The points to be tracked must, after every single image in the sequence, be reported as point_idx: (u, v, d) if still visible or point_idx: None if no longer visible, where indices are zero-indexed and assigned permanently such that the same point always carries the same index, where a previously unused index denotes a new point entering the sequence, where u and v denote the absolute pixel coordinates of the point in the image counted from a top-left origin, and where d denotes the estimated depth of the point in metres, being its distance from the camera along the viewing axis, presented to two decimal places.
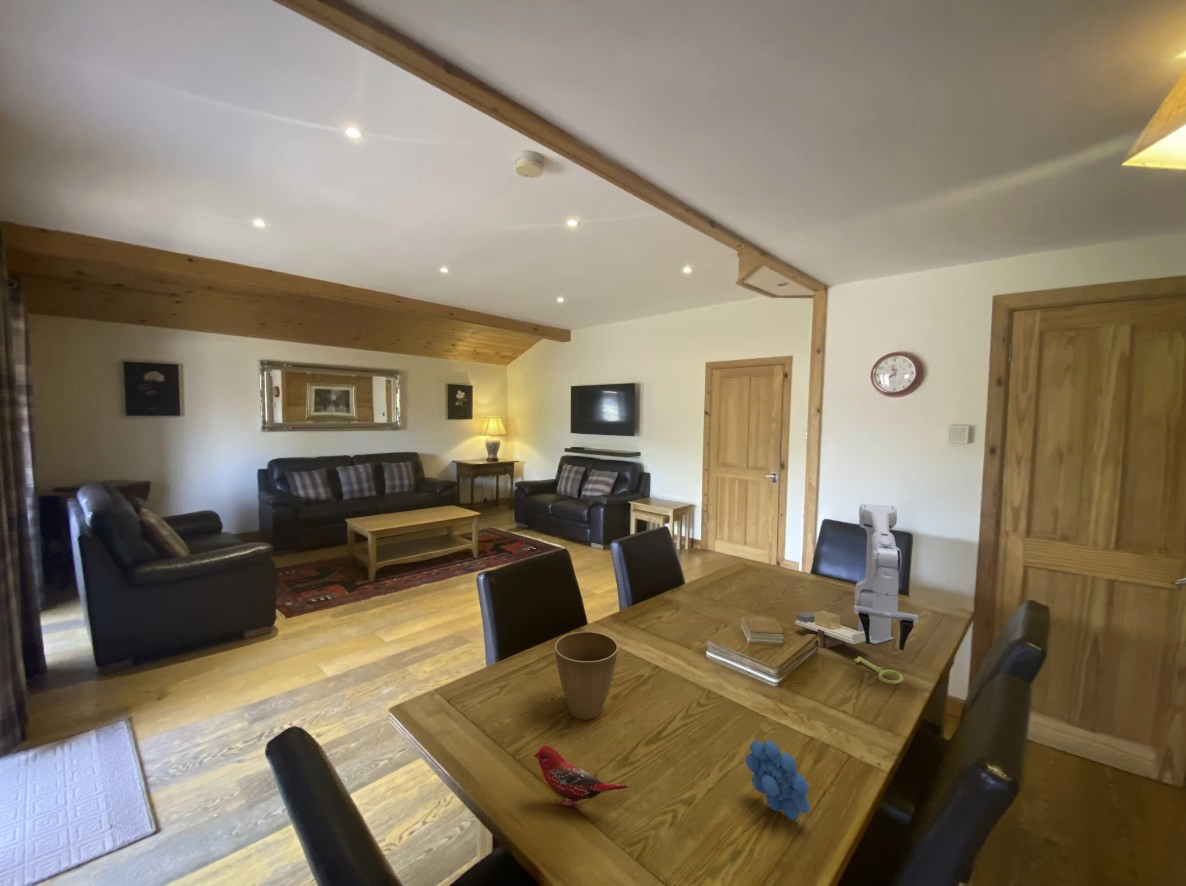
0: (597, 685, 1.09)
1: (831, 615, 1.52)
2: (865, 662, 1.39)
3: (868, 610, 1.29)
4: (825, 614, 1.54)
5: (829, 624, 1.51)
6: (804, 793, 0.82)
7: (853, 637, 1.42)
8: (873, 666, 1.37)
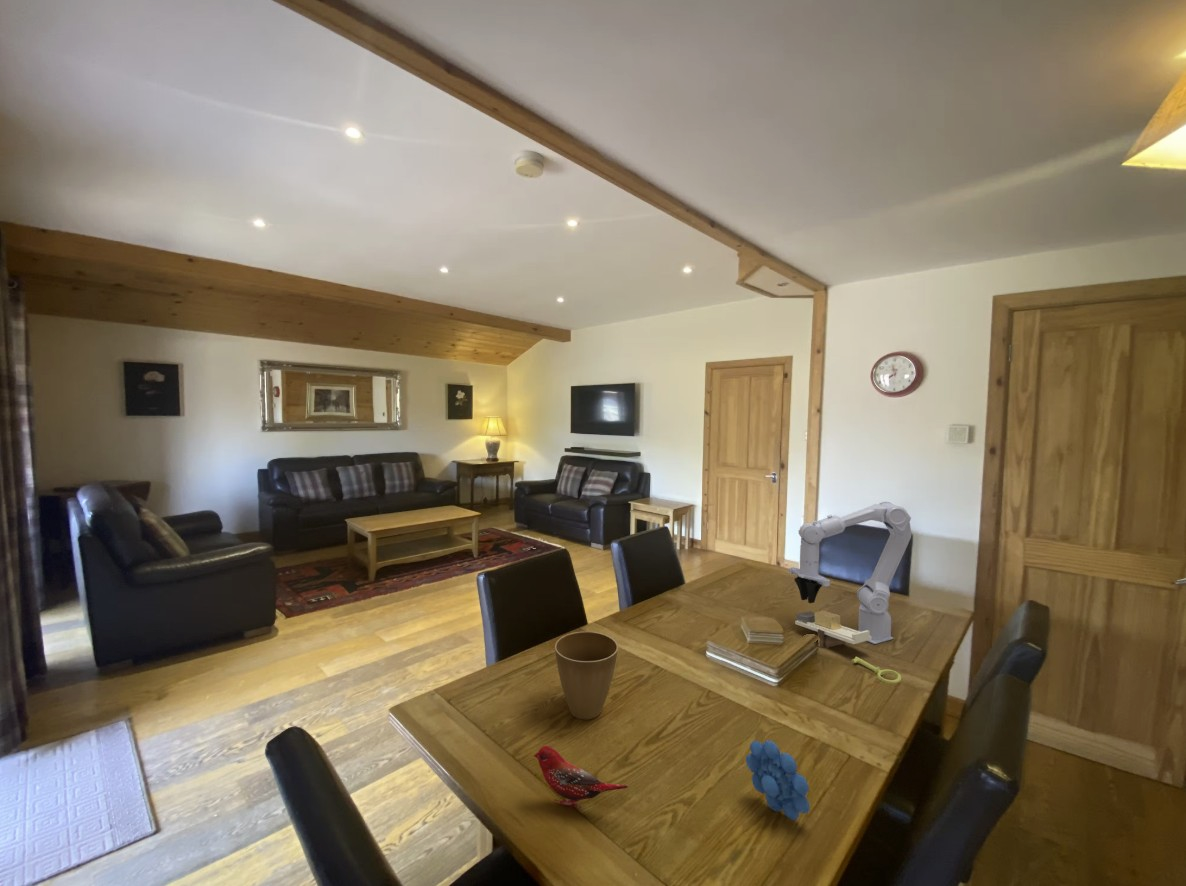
0: (597, 685, 1.09)
1: (831, 615, 1.52)
2: (863, 662, 1.39)
3: (795, 571, 1.63)
4: (825, 614, 1.54)
5: (829, 624, 1.51)
6: (804, 793, 0.82)
7: (853, 637, 1.42)
8: (871, 666, 1.37)
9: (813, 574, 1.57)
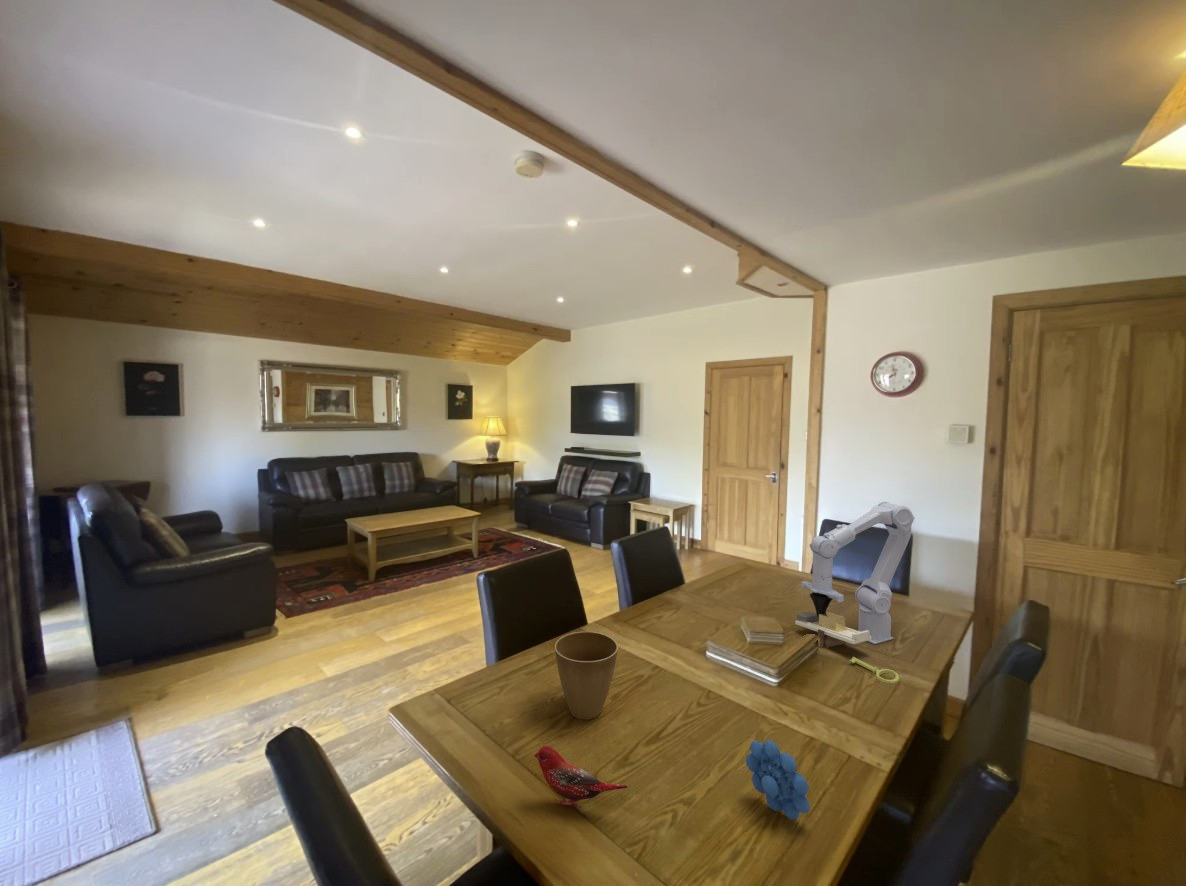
0: (597, 685, 1.09)
1: (836, 617, 1.51)
2: (860, 662, 1.39)
3: (807, 586, 1.59)
4: (830, 615, 1.52)
5: (834, 626, 1.49)
6: (804, 793, 0.82)
7: (853, 637, 1.42)
8: (869, 666, 1.37)
9: (826, 589, 1.53)
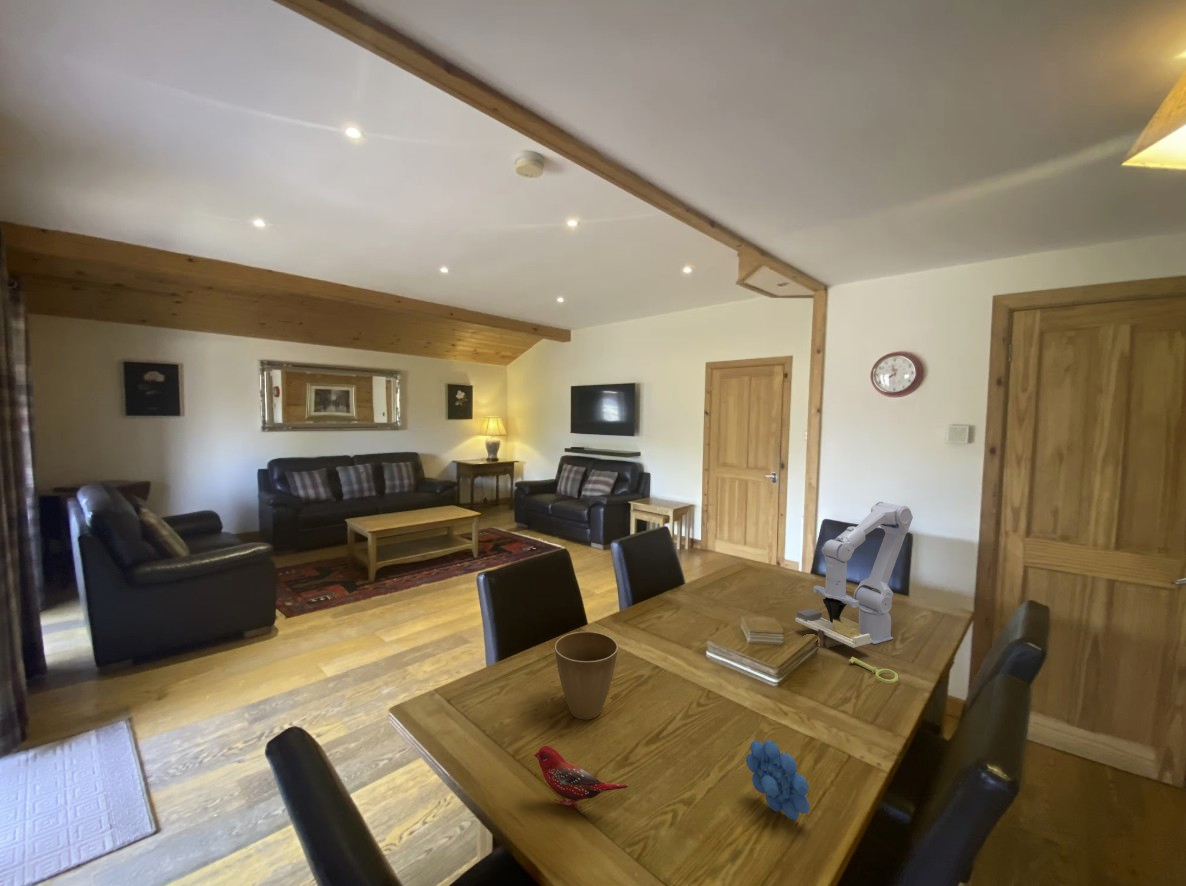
0: (596, 685, 1.09)
1: (851, 623, 1.46)
2: (859, 662, 1.39)
3: (820, 591, 1.54)
4: (845, 621, 1.48)
5: (848, 633, 1.45)
6: (804, 793, 0.82)
7: (854, 640, 1.42)
8: (868, 666, 1.37)
9: (840, 594, 1.48)
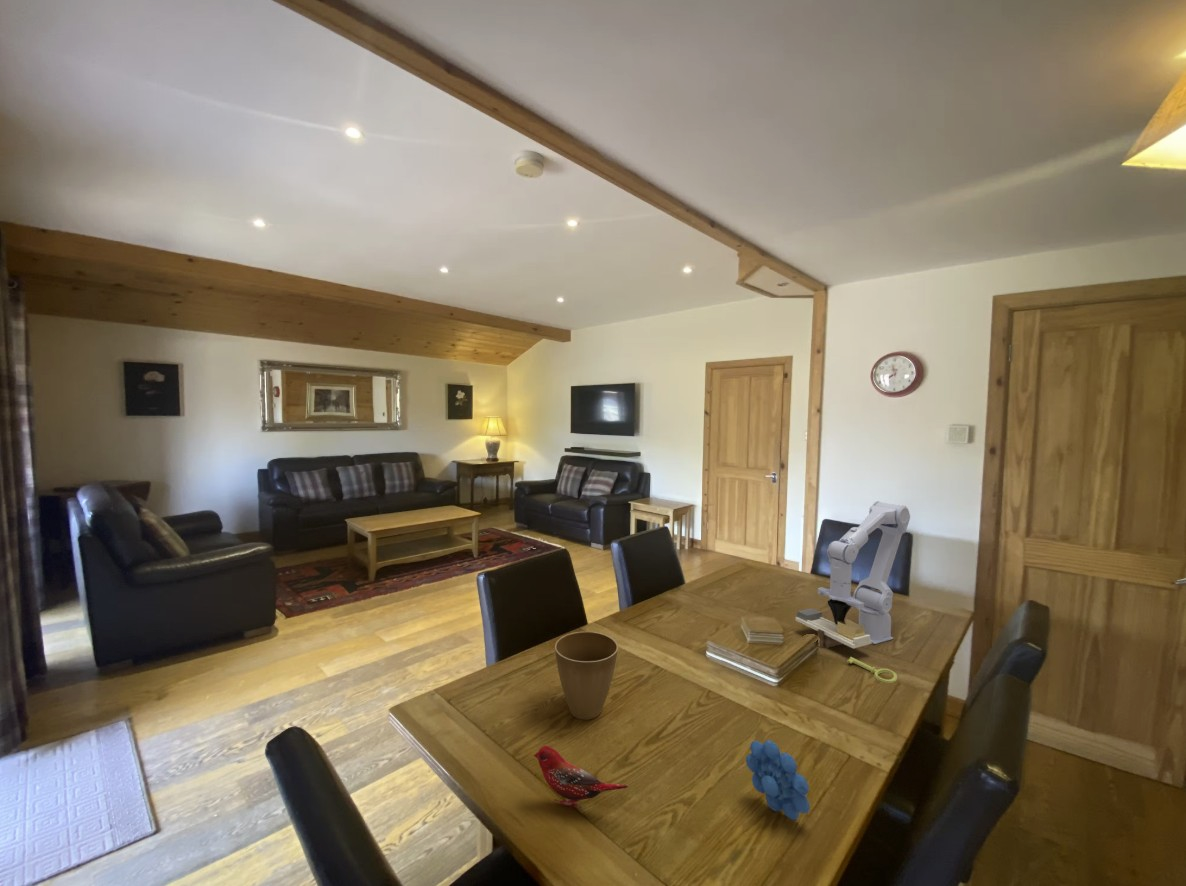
0: (597, 685, 1.09)
1: (856, 626, 1.45)
2: (858, 662, 1.39)
3: (824, 592, 1.53)
4: (850, 624, 1.46)
5: (853, 636, 1.43)
6: (804, 793, 0.82)
7: (854, 641, 1.42)
8: (867, 666, 1.37)
9: (845, 596, 1.47)
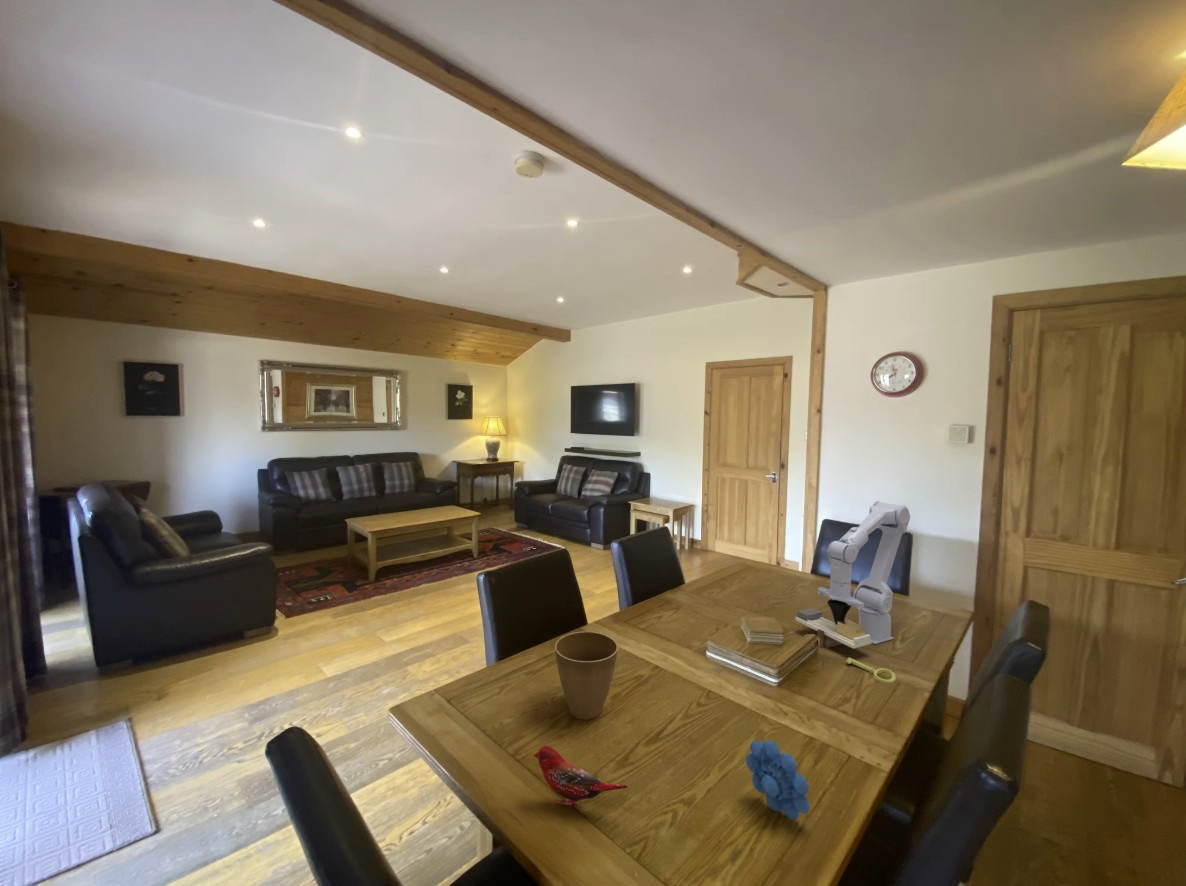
0: (597, 685, 1.09)
1: (856, 626, 1.45)
2: (856, 663, 1.38)
3: (824, 592, 1.53)
4: (850, 624, 1.46)
5: (853, 636, 1.43)
6: (804, 793, 0.82)
7: (854, 641, 1.42)
8: (865, 666, 1.37)
9: (845, 596, 1.47)
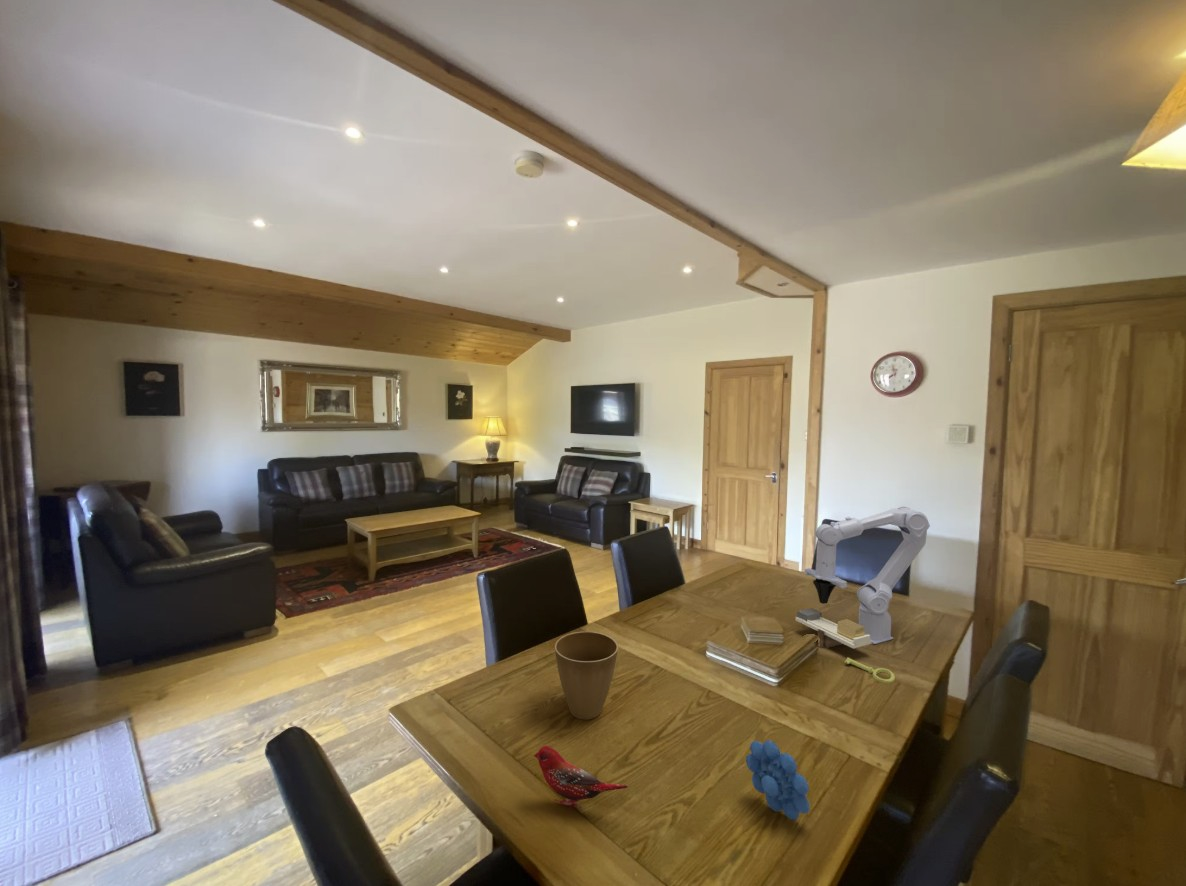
0: (597, 685, 1.09)
1: (856, 626, 1.45)
2: (855, 663, 1.38)
3: (810, 573, 1.62)
4: (850, 624, 1.46)
5: (853, 636, 1.43)
6: (804, 793, 0.82)
7: (854, 641, 1.42)
8: (864, 666, 1.37)
9: (830, 576, 1.56)
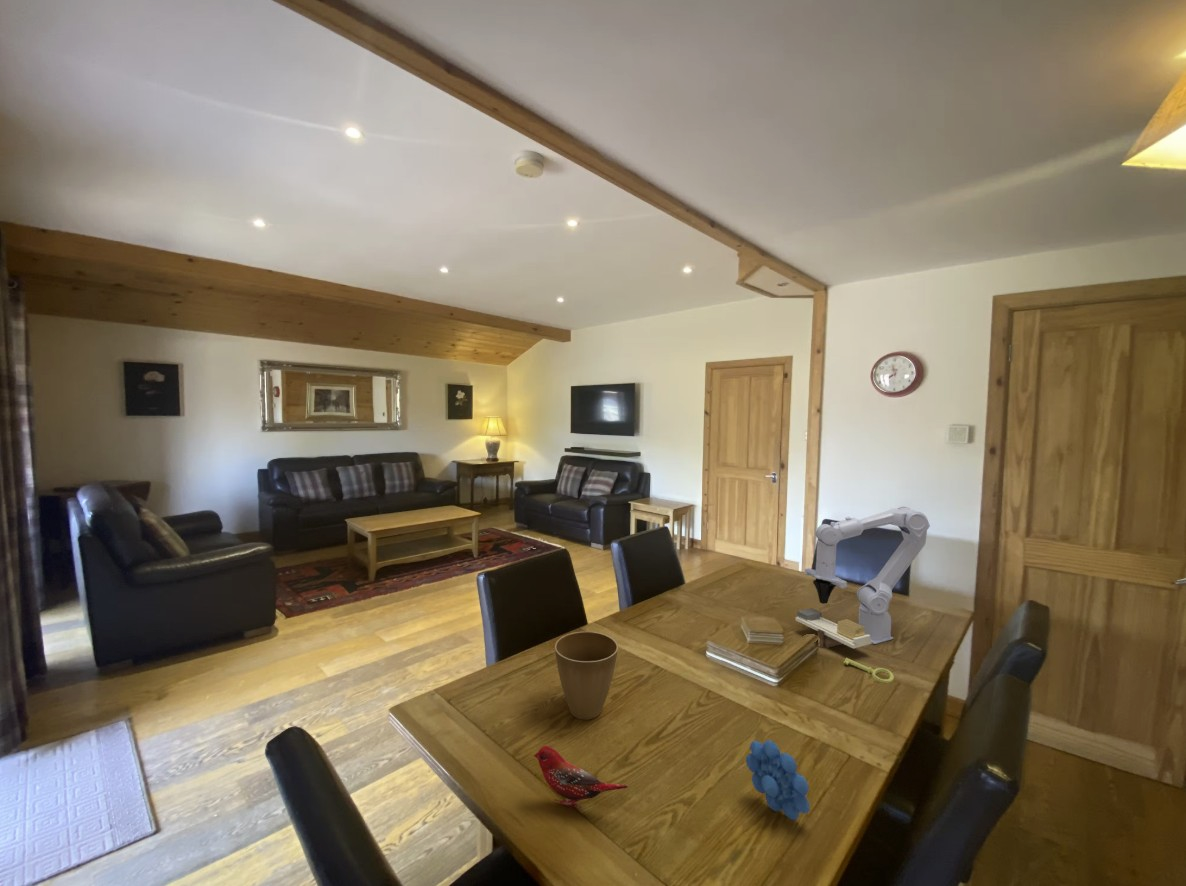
0: (597, 685, 1.09)
1: (856, 626, 1.45)
2: (854, 663, 1.38)
3: (810, 573, 1.62)
4: (850, 624, 1.46)
5: (853, 636, 1.43)
6: (804, 793, 0.82)
7: (854, 641, 1.42)
8: (863, 666, 1.36)
9: (830, 576, 1.56)
